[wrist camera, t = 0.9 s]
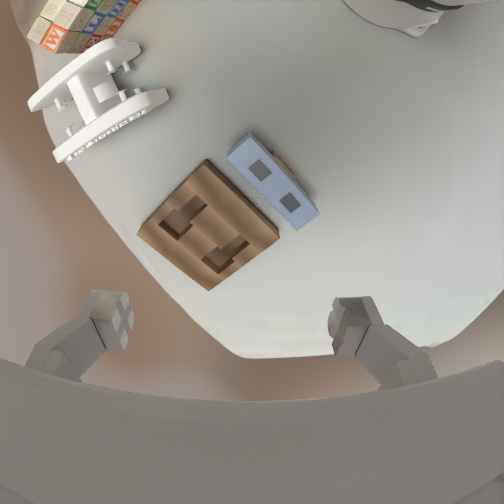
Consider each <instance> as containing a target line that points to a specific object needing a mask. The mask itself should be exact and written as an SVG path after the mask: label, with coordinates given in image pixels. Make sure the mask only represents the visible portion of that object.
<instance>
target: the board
mask: <svg viewBox="0 0 504 504" xmlns="http://www.w3.org/2000/svg"><path fill="white" fill-rule="evenodd" d="M137 235H138V236H139V237H140V238H141V239H143V240H144V241H145V242H146V243H148V244H149V245H150V246H151V247H152V248H154V249H155V250H156V251H157V252H159V253H160V254H161V255H162V256H164V257H165V258H166V259H167V260H169V261H170V262H171V263H172V264H174V265H175V266H176V267H178V268H179V269H180V270H181V271H183V272H184V273H185V274H187V275H188V276H189V277H190V278H192V279H193V280H194V281H196V282H197V283H198V284H200V285H201V286H202V287H204V288H205V289H206V290H208V291H210V290H211V289H212V288H214V287H215V286H217V285H218V284H219V283H221V282H222V281H223V280H225V279H226V278H227V277H229V276H230V275H231V274H233V273H234V272H235V271H237V270H238V269H239V268H241V267H242V266H244V265H245V264H246V263H248V262H249V261H250V260H252V259H253V258H254V257H256V256H257V255H258V254H260V253H261V252H262V251H264V250H265V249H266V248H268V247H269V246H270V245H272V244H273V243H274V242H276V241H277V240H278V239H280V236H279V231H278V228H277V227H276V226H275V225H274V224H273V223H272V222H271V221H270V220H269V219H268V218H267V217H266V216H265V215H264V214H263V213H262V212H261V211H260V210H259V209H258V208H257V207H256V206H255V205H254V204H253V203H252V202H251V201H250V200H249V199H248V198H247V197H246V196H245V195H244V194H243V193H242V192H241V191H240V190H239V189H238V188H237V187H236V186H235V185H234V184H233V183H232V182H231V181H230V180H229V179H227V178H226V177H225V176H224V175H223V174H222V173H221V172H220V171H219V170H218V169H217V168H216V167H215V166H214V165H213V164H212V163H211V162H210V161H209V160H208V159H206V160H205V161H204V162H202V163H201V164H200V165H199V166H198V167H197V168H196V169H195V170H194V171H193V172H192V173H191V174H190V175H189V176H188V177H187V178H186V179H185V180H184V181H183V182H182V183H181V184H180V185H179V186H178V187H177V188H176V189H175V190H174V191H173V192H172V193H171V194H170V195H169V196H168V198H167V199H166V200H165V201H164V202H163V203H162V204H161V205H160V206H159V207H158V208H157V209H156V210H155V211H154V212H153V213H152V215H151V216H150V217H149V218H148V219H147V220H146V221H145V222H144V223H143V224H142V226H141V227H140V229H139V231H138V233H137Z"/></svg>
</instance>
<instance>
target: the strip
mask: <svg viewBox="0 0 504 504" xmlns="http://www.w3.org/2000/svg"><path fill="white" fill-rule="evenodd" d="M226 159H227V160H228V161H229V162H230V163H231V164H232V165H233V166H234V167H235V168H236V169H237V170H238V171H239V172H240V173H241V174H242V175H243V176H244V177H245V178H246V179H247V180H248V181H249V182H250V183H251V184H252V185H253V186H254V187H255V188H256V189H257V190H258V191H259V192H260V193H261V194H262V195H263V196H264V197H265V198H266V199H267V200H268V201H269V202H270V203H271V204H272V205H273V206H274V207H275V208H276V209H277V210H278V212H279V213H280V214H281V215H282V216H283V217H284V218H285V219H286V220H287V221H288V222H289V223H290V224H291V225H292V226H293V227H294V228H295V229H296V231H297V230H299V229H300V228H301V227H303V226H304V225H305V224H307V223H308V222H309V221H311V220H312V219H313V218H315V217H316V216H317V215H319V212H318V210H317V207H316V205H315V203H314V202H313V201H312V200H311V198H310V197H309V196H308V195H307V194H306V193H305V192H304V190H303V189H302V188H301V187H300V186H299V185H298V183H297V182H296V181H295V180H294V179H293V178H292V177H291V176H290V174H289V173H288V172H287V171H286V170H285V169H284V168H283V167H282V166H281V164H280V163H279V162H278V161H277V160H276V159H275V158H274V157H273V156H272V155H271V154H270V152H269V151H268V150H267V149H266V148H265V147H264V146H263V145H262V144H261V143H260V142H259V141H258V140H257V139H256V138H255V137H254V136H253V135H252V134H251V132H249V133H248V134H247V135H246V136H245V137H244V138H242V139H241V140H240V141H239V142H238V143H237V144H236V145H234V146H233V147H232V148H231V149H230V150H229V151H228V153H227V157H226Z"/></svg>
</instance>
